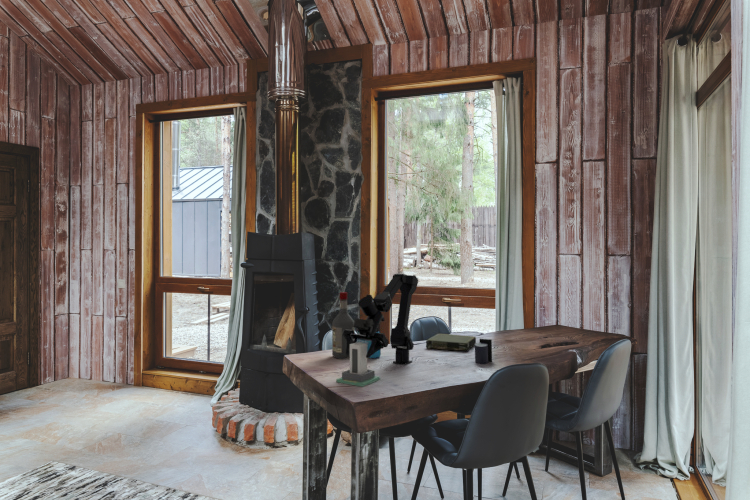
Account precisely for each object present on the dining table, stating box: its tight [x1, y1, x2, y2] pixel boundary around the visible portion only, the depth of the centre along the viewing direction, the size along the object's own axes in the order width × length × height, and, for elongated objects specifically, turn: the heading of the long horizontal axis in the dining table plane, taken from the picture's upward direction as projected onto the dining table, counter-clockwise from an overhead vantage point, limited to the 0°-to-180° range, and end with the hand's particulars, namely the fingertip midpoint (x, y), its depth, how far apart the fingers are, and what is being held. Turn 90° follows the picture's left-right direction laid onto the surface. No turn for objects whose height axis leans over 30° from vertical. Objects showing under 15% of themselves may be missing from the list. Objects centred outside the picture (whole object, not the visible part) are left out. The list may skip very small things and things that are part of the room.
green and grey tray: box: [336, 368, 381, 387], centre depth 187 cm, size 12×12×4 cm
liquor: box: [331, 291, 356, 360], centre depth 229 cm, size 9×9×30 cm
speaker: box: [474, 338, 493, 365], centre depth 218 cm, size 8×6×10 cm
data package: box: [357, 331, 382, 359], centre depth 231 cm, size 12×4×12 cm, turn 40°
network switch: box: [425, 333, 477, 353], centre depth 253 cm, size 23×24×5 cm
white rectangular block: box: [349, 341, 368, 375], centre depth 187 cm, size 5×5×13 cm
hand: (356, 356), depth 187 cm, fingers open, 9 cm apart
